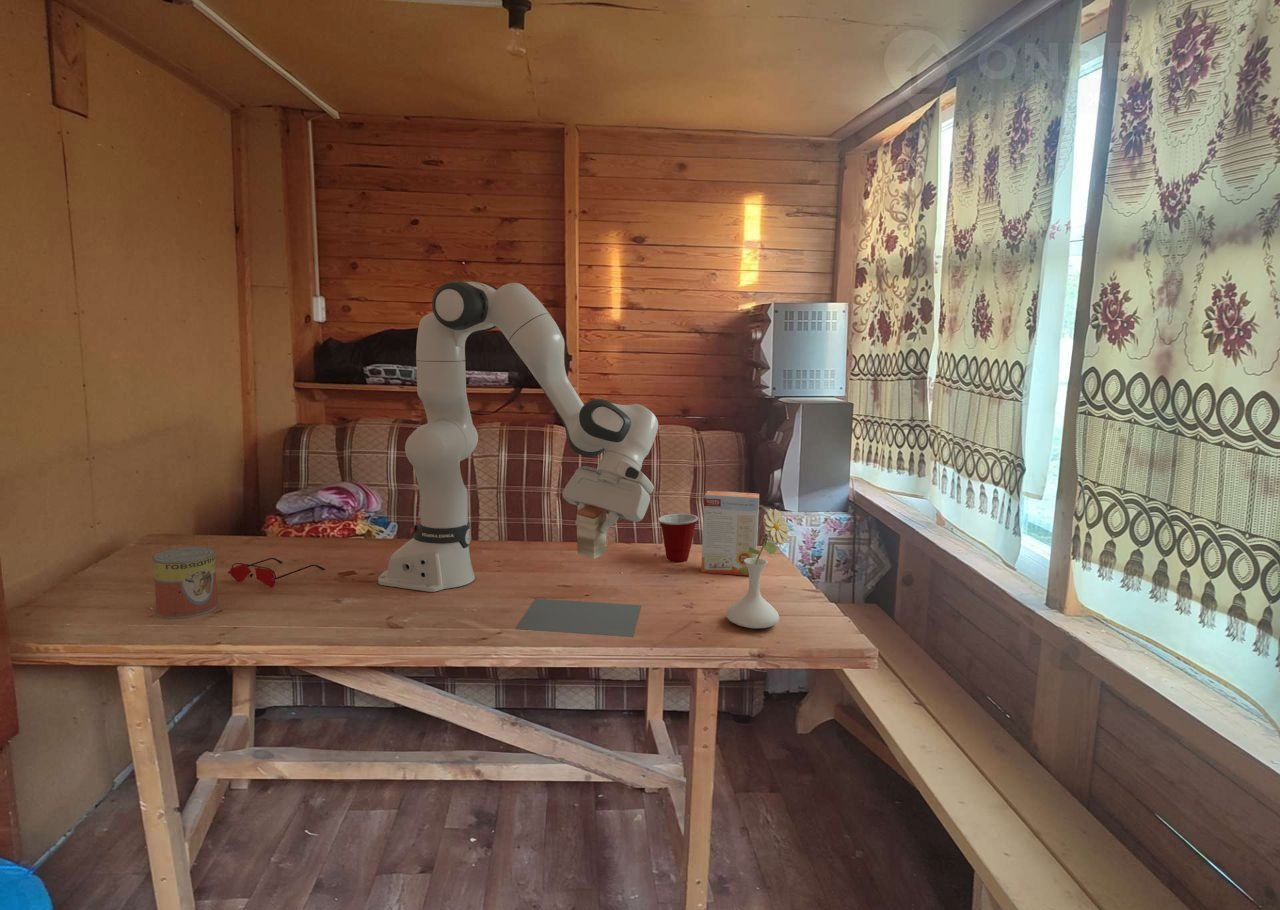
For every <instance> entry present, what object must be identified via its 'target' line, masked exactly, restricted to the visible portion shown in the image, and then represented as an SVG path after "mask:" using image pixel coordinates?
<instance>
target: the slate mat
mask: <svg viewBox="0 0 1280 910" xmlns="http://www.w3.org/2000/svg"><path fill="white" fill-rule="evenodd" d="M641 609H642V604H641V605H640V604H630V603H629V604H628V603H615V602H614V603H610V602H598V601H580V600H568V599H567V600H565V599H551V598H550V599H549V598H537V597H536V598H535V599H534V600H533V602H532V603H531V605H530V606H529V608H528V609H527V611H526V612H525V613H524V615H523V616H522V618H521V620H520V621H519V623H518V624H517V626H516V627H515V630H524V631H537V632H538V631H539V632H556V633H569V634H571V633H572V634H583V635H599V636H601V635H602V636H612V637H613V636H615V637H628V638H629V637H630V638H634V635H635V631H636V629H637V624H638V620H639V618H640V617H639V616H640V613H641V612H640V611H641Z"/></svg>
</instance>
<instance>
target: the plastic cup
mask: <svg viewBox="0 0 1280 910" xmlns="http://www.w3.org/2000/svg"><path fill="white" fill-rule="evenodd" d="M657 519H658V522H659V524H660V527H661V531H662V532H661V533H662V538H663V544H664V549H665V558H666V560H667V559H668V560H670V561H669V562H671V561H674V562H673V563H685V562H684V561H686V562H687V561H688V559H689V557H690V556H689V555H690V551H691V547H692V543H693V537H694V531H695V529H696V524H697V521H698V520H699V517H698V516H697V515H695V514H691V513H671V514H665V515H662V516H659V517H658V518H657ZM668 560H667V561H668Z"/></svg>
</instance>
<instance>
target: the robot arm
mask: <svg viewBox="0 0 1280 910" xmlns="http://www.w3.org/2000/svg"><path fill="white" fill-rule="evenodd" d="M431 309H432V312H430V313H428V314H426V315H424V316H422V317H421V319H420V320H419V324H418V327H417V335H416V344H415V345H416V346H415V347H416V349H415V355H416V356H415V357H416V358H415V359H416V363H415V364H416V365H415V367H416V386H417V396H418V398H419V399H420V401H421V402H422V405H423V407H424V412H425V415H426V419H427V423H425V424H422V425H420V426H419V427H417V428H416V429H415V430H413V432H412V433H411V434H410V435H409V436H408V437H407V439H406V441H405V445H404V452H405V453H404V454H405V456H406V458H407V460H408V462H409V463H410V464H411V466H412V467H413V470H414V473H415V477H416V480H417V481H416V482H417V485H418V486H417V487H418V493H419V511H420V512H419V513H420V515H419V517H420V519H419V520H418V521H417V522H416V524H414V525H413V526H412V527H411V528H410V530H411V531H410V534H412V535H413V537H412V538H411V539H409V540H408V541H407V542H405V543H404V544H403V545H402V546H400V547H398V549H396V550H395V551H394V552H393V553H392V554H391V556H390V558H389V560H388V561H389V562H388V567H387V569H386V570H384V571H383V572H382V573H380V575H379V576H378V578H377V583H378V585H379V586H384V587H385V586H387V587H393V588H394V587H395V588H399V589H406V590H407V589H408V590H415V591H421V592H428V593H429V592H430V593H433V592H438V591H442V590H446V589H452V588H458V587H462V586H466V585H468V584H470V583H472V582H473V581H475V579H476V576H475V575H476V574H475V573H474V572H475V571H474V570H473V564H472V560H471V555H470V545H471V526H470V521H469V516H468V515H469V514H468V513H469V509H468V508H469V498H468V495H469V493H468V492H469V491H468V489H467V487H466V486H465V484H464V481H463V476H462V472H461V467H460V465H461V462H462V461H464V460H466V459H467V458H468V457H470V456H471V454H472V453H473V452H474V450H475V449H476V447H477V445H478V443H479V442H478V441H479V434H478V431H477V429H476V427H475V425H474V423H473V419H472V414H471V411H470V410H471V409H470V405H469V400H468V394H467V376H466V375H467V374H466V370H467V369H466V342H467V339H468V337H469V336H470V335H471V334H472V335H474V336H475V335H479V334H481V333H485V332H487V331H491V330H494V329H496V328H497V329H499V331H500V332H502V334H503V335H504V337H505V338H506V340H507V341H508V342H509V344H510V345H511V347H512V349H513V350H514V351H515V352H516V354H517V355H518V357H519V358H520V360H522V361H523V363H524V364H525V366H526V367H527V368H528V370H529V371H530V373H531V374H532V375H533V377H534V379H535V381H537V383H538V384H539V386H540V389H542V391H543V393H544V394H545V396H546V398H547V399H548V401H549V402H550V404H551V405H552V408H553V409H554V410H555V412H556V413H557V415H558V417H559V418H560V420H561V422H562V424H563V427H564V430H565V436H566V439H567V443H568V445H569V446H570V449H572V450H573V451H574V452H575V453H576V454H578V455H581V457H587V458H589V457H590V458H594V457H597V456H599V455H601V454H602V453H604V454H603V456H602V458H601V459H600V461H599V463H598V465H597V467H593V466H592V467H591V466H589V465H583V466H580V467H579V468H576V470H575V471H574V474H573V475H572V477H570V479H569V480H568V482H567V484H566V485H565V487H564V489H563V490H562V497H563V499H564V500H565V502H567V503H568V504H571V505H575V506H577V509H576V510H577V511H578V510H580V509H582V508H584V507H586V506H588V505H590V506H594V507H597V508H601V509H605V510H606V515H607V516H608V517H607V518H606V521H605V522H603V523H601V522H600V523H599V526H598V528H597V530H598V531H599V532H601V533H603V534H606V532H607V533H608V531H609V528H611V527H612V526H613V525H614V524H615V523H617V522H618V521H619V518H620V519H623V520H627V521H631V522H635V523H639V522H640V521H642V520H643V519H644V517H645V515H646V513H647V511H648V508H649V505H650V501H651V495H650V494H652V493H653V491H654V490H655V486H654V484H653V483H652V481H651V480H650V479H649V477H647V476H646V474H644V472H642V471H641V470H642V467H643V463H644V459H646V457H647V456H648V455H649V454H650V451H651V449H652V447H653V445H654V442H655V439H656V436H657V433H658V430H659V421H658V418H657V417H656V414H654V413H653V411H652V410H650V409H649V408H648V407H647V406H644V405H642V404H639V403H633V404H618V403H613V402H610V401H608V400H606V399H604V398H595V399H591V400H589V401H587V402H585V404H584V402H583V401H582V400H581V398H580V396H579V394H578V393H577V392H576V390H575V389H574V386H573V385H572V384H571V382H570V380H569V377H568V376H567V372H566V365H565V345H566V344H565V339H564V336H563V334H562V331H561V329H560V327H559V326H558V324H557V323H556V321H555V320H554V319H555V318H553V316H552V315H551V314H550V312H549V311H548V310H547V308H546V307H545V306H544V305H543V303H542V302H541V301H540V300H539V299H538V298H537V297H536V296H535V295H534V294H533V293H532V292H531V290H530V289H528V288H527V287H526V286H525V285H523V284H522V283H519V282H510V283H506V284H503V285H502V286H501V287H499V288H497V287H496V286H493V285H491V284H487V283H483V282H478V281H475V280H474V281H473V280H470V281H461V280H453V281H450V282H446V283H444V284H441V286H439V287H438V288H437V289H436V291H435V292H434V294H433V297H432V300H431ZM575 525H576V526H577V518H576V520H575Z"/></svg>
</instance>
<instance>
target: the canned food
mask: <svg viewBox="0 0 1280 910" xmlns="http://www.w3.org/2000/svg"><path fill="white" fill-rule="evenodd" d="M215 553H216V550H215V549H214V548H212V547H208V546H198V545H197V546H196V545H195V546H185V547H184V546H183V547H176V548H170V549H166V550H163V551H159V552H156V553H155V554H154V555H153V556H152V557H151V558H152V565H153V579H154V581H153V582H154V590H155V591H154V592H155V593H154V594H155V606H156V612H155V613H156V615H157V616H158V617H161V618H162V619H163V618H164V619H185V618H193V617H197V616H201V615H205V614H208V613H210V612H212V611H215V609H217V608H218V607H219V602H218V601H219V600H218V588H217V572H216V570H217V569H216V568H217V567H216V554H215Z"/></svg>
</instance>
